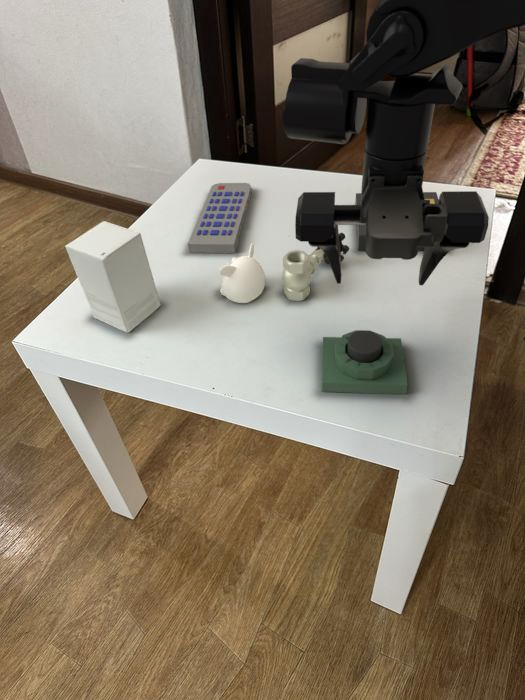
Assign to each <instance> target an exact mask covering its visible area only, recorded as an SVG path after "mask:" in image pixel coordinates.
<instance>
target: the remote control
mask: <svg viewBox="0 0 525 700" xmlns="http://www.w3.org/2000/svg"><path fill="white" fill-rule="evenodd" d="M251 198H252V185H251V184H250V183H248V182H219V183H214V184H212V185H211V186H210V189H209V191H208V193H207V196H206V199H205V201H204V203H203V206H202V209H201V210H200V213H199V216H198V217H197V221H196V223H195V226H194V228H193V231H192V232H191V235H190V238H189V240H188V241H187V247H188V252H189V254H235V253H236V251H237V247H238V244H239V241H240V237H241V233H242V231H243V226H244V223H245V219H246V216H247V213H248V209H249V205H250V202H251Z"/></svg>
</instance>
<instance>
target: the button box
mask: <svg viewBox="0 0 525 700" xmlns="http://www.w3.org/2000/svg"><path fill="white" fill-rule="evenodd" d="M362 330H363V329H362ZM362 330H361V329H359V330H358V329H356V330H352V331H350V332H347V333H345V334H342V335H341V336H340V337H339V336H323V337H322V355H321V356H322V358H321V359H322V360H321V361H322V363H321V367H322V368H321V375H322V376H321V392H322V393H352V394H353V393H354V394H386V395H387V394H389V395H406V394H407V391H408V386H409V384H408V377H407V370H406V362H405V356H404V349H403V342H402V338H401V337H397V338H396V337H386V336H385V335H383V334H380V333H379V332H378V333H377V332H375V331H373V330H370V331H371V332H374V333H376V334H377V335H378V336H379V337H380V338H381V340H382V347H381V354H380V357H379V358H378V359H377V360H376V361H374V362H371V363H359V362H357V361H355V360H353V359H351V358H350V356H349V355H348V352H347V349H348V339H349V337H350V335H351V334H353V333H354V332H357V331H362Z"/></svg>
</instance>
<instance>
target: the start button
mask: <svg viewBox="0 0 525 700" xmlns="http://www.w3.org/2000/svg"><path fill="white" fill-rule="evenodd" d="M371 331H372V330H367V329H366V330H365V329H364V330H363V329H362V331H357V332H354V333H353V334H351V335H350V337H349V339H348V349H347V352H348V355H349V356H350V358H351V359H353V360H355V361H357V362H359V363H371V362H374V361H376V360H377V359H378V358H379V357H380V354H381V347H382V340H381V338H380V337H379V336H378V335H377V334H376V333H377V332H375V331H373V332H371ZM374 332H375V333H374Z"/></svg>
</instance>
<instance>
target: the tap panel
mask: <svg viewBox="0 0 525 700" xmlns="http://www.w3.org/2000/svg"><path fill="white" fill-rule="evenodd" d="M423 194H424V199H434V202H435V204H438V201H439V195H438V194H437V191H423ZM354 201H355V202H354V203H355V204H354V205H360V202H361V192H358V193H357V192H356V193H355V199H354ZM355 228H356V229H355V230H356V242H357V243H356V244H357V245H356V246H357V251H358V252H366V250H365V247H366V225H355ZM424 249H425V247H419V250H418V252H421V251H422V252H424Z"/></svg>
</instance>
